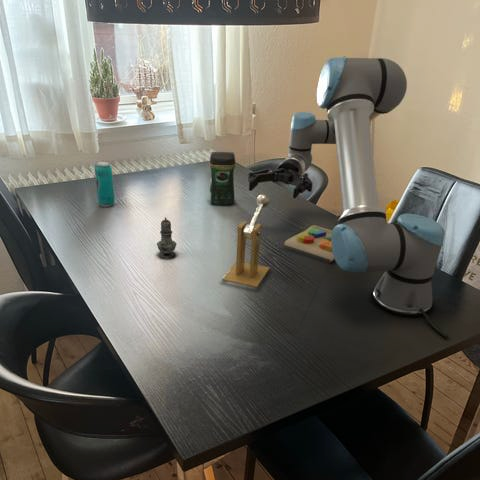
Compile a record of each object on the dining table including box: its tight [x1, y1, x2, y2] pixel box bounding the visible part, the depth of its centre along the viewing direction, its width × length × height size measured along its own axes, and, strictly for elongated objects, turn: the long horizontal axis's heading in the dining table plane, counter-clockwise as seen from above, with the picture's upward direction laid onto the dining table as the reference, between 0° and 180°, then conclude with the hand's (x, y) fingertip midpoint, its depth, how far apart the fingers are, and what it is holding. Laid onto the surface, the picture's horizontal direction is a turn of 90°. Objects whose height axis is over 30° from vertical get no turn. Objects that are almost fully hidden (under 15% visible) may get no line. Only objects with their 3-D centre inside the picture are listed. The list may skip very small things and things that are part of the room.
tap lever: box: [243, 193, 270, 240], centre depth 136 cm, size 15×4×4 cm, turn 158°
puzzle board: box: [283, 225, 335, 263], centre depth 160 cm, size 18×19×4 cm
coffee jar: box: [208, 151, 237, 206], centre depth 184 cm, size 10×8×19 cm
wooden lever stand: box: [221, 220, 271, 289], centre depth 136 cm, size 12×10×16 cm
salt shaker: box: [156, 216, 177, 260], centre depth 147 cm, size 6×6×12 cm
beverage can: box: [94, 160, 115, 208], centre depth 177 cm, size 6×6×15 cm
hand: (272, 190), depth 146 cm, fingers open, 13 cm apart
